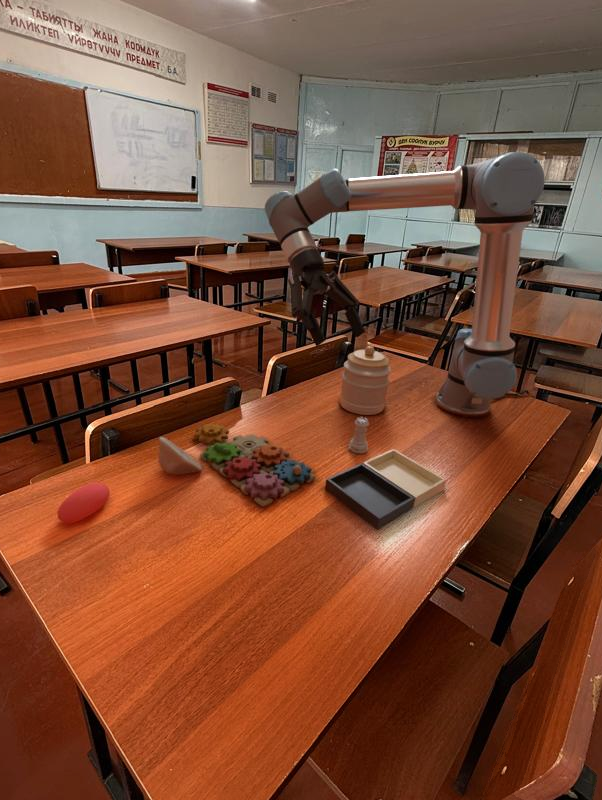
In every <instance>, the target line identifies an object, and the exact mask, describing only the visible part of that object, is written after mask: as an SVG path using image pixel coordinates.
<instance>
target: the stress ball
mask: <svg viewBox="0 0 602 800" xmlns="http://www.w3.org/2000/svg"><path fill="white" fill-rule="evenodd" d="M110 495H111V494H110V488H109V487H108V485H107V484H105V483H104V482H101V481H92V482H89V483H87V484H86V483H85V485H83V486H81V487H79V488H78V489H75V491H73V492H72V493H70V494H69V495H68V496H67V497H66V498H65V499H64V500H63V501H62V503H61V504H60V506H59V507H58V509H57V513H56V514H57V518H58V520H59V521H60V522H61V523H63V524H73V523H76V522H79V521H82V520H84V519H86V518H88V517H89V516H91V515H92V514H94V513H95V512H96V511H97V510H99V509H101V508H102V507H103V506H104V505H105V504H106V503H107V501H108V500H109V497H110Z"/></svg>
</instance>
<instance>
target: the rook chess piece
mask: <svg viewBox="0 0 602 800" xmlns="http://www.w3.org/2000/svg"><path fill="white" fill-rule="evenodd" d="M354 425H355V427H354V434H353V437H352V438H351V439H350V441H349V445H348V449H349V450H350V451H351V452H352V453H354V454H357V455H358V454H359V455H362V454H365V453H366V452H367V451H368V450H369V449H368V447H369V444H368V441H367V438H366V437H367V435H366V434H367V433H366V432H367V431H368V428H367V427H369V425H370V423H369V420H368V418H367V417H364V418H363V416H360V417H359V416H358V417H357V418H356V420H355V421H354Z"/></svg>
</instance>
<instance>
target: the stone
mask: <svg viewBox="0 0 602 800" xmlns="http://www.w3.org/2000/svg"><path fill="white" fill-rule="evenodd" d="M158 449H159V450H158V464H159V467H160V468H161V469H162V470H164V471H165V472H166V473H167V474H170V475H179V476H180V475H185V474H186V475H187V474H191V473H196V472H202V471H203V467H202V466H201V465H200V464H199V463H197V461H196V460H195V459H194V458H193V457H192V455H190V454H189V453H188V452H186V451H185V450H184V449H182V448H181V447H179V446H178V445H176V444H175V443H173V442H172V441H171V440H169V439H168V438H166V437H164V436H160V437H159V438H158Z"/></svg>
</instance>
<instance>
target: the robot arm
mask: <svg viewBox="0 0 602 800" xmlns="http://www.w3.org/2000/svg"><path fill="white" fill-rule="evenodd" d="M545 179H546V177H545V172H544V169H543V166H542V164H541V163H540V162H539V160H537V158H536V157H534V156H533V155H532V154H529V153H526V152H521V151H510V152H504V153H502V154H499V155H498V156H495V157H492V158H489V159H487V160H483V161H480V162H476V163H472V164H465V165H458V166H457V167H456V168H454V170H447V171H435V172H423V173H422V172H421V173H408V174H393V175H379V176H369V177H356V178H353V177H352V178H344V176H342V173H341V171H340V169H338V168H332V169H330V170H329V171H327V172H325V173H323V174H321V175H320V176H319V177H318V178H317V179H316V180H313V182H311V183H309V184H308V185H307V186H306V187H304V188H303V189H301V190H300V191H298V192H297V193H295V194H292V193H291V192H289V191H288V190H281V191H278V192H275V193H273V194H271V196H269V197H268V198H267V200H265V201H266V202H265V204H264V213H265V215H266V218H267V220H268V224H269V226H270V228H271V230H272V231H273V233H274V235H275V238H276V239H277V241H278V243H279V245H280V248H281V250H282V253H283V255H284V256H285V258H286V261H287V263H288V264H289V268H290V270H291V272H292V275H291V276H290V278H288V280H287V283H288V285H289V288H290V305H291V306H290V307H291V310H290V311H291V316H292V317H293V318H296V319H297V321H299V322H301V321H302V323H303V325H304V326H305V329H306V330H307V331H308V332H309V334H310V336H311V338H312V340H313V343H314V345H315V347H319V346H320V345H321V344H323V343H324V342H325V341H327V339H326V336H325V333H323V330H322V328H321V326H320V324H319V322H318V319H317V317H316V315H315V313H314V312H312V313H311V308H312V303H313V299H314V296H315V295H323V296H325V297H328V298H329V299H330V300H332V301H333V302H334V303H335V304H337V305H338V306H339V307H340V308H341V309H343V310H344V311H345V312H344V315H345V317H346V319H347V322H348V324H349V326H350V328H351V330H352V332H353V334H354V336H355V338H359V337H360V336H362V335H364V333H366V329H365V327H364V326H363V323H362V321H361V317H360V316H359V313H358V311H357V308H356V307H358V305H359V304H360V301H359V299H358V298H357V297H356V296H355V295H354V294H353V292H351V291H350V290H349V289H348V286H346V285H345V284H344V283H343V282H342V280H341V279H340V278H339V276H338V274H337V273H336V271H334V270H333V271H331V272H330V273H327V272H326V271H325V269H324V268H325V261H324V258H323V257H322V255H321V252H320V250H318V245H317V243H316V242H315V240H314V238H313V236H312V234H311V232H310V230H309V227H310V226H312V225H314V224H315V223H317V222H318V221H320V220H321V219H323V218H325V217H327V216H328V215H329V214H334V213H336V214H337V213H346V212H347V213H348V212H363V211H380V210H381V211H382V210H396V209H397V210H398V209H399V210H400V209H413V208H414V209H415V208H431V207H445V206H446V207H447V206H448V207H449V206H451V207H452V208H453V209H454V210H473V211H474V223H473V225H474V226H475V227H476V228H477V229H478V231H479V232H480V237H479V246H478V257H477V258H478V259H477V270H476V279H475V291H474V302H473V303H474V304H473V315H472V325H471V328H461V329H459V330H458V331H457V334H456V336H455V338H454V345H453V349H452V354H451V358H450V363H449V366H448V371H447V375H446V379H445V380H444V382H443V383H442V385H441V386H440V388H439V390H438V391H437V393H436V395H435V400H434V401H435V404H436V405H437V407H439V408H440V409H441V410H442V411H445V412H447V413H449V414H452V415H455V416H458V417H462V418H463V417H464V418H483V417H486V416H487V415H489V411H490V409H491V400H497V399H500V398H501V397H505V396H508V397H509V396H510V397H518V396H519V395H518V394H521V395H523V394H525V393H526V394H527V395H530V391H528V390H527V389H523V390H522V391H520V392H517V393H518V394H514V393H515V392H514V393H513V392H511V391H512V390H513V388H514V387H515V385H516V383H517V381H518V372H517V368H516V366H515V364H514V358H515V357H514V355H515V351H516V342H515V341H514V340H513V339H512V338H511V336H510V333H511V327H512V318H513V310H514V303H515V297H516V296H515V294H516V287H517V280H518V273H519V271H518V270H519V263H520V255H521V247H522V239H523V232H524V230H525V229H526V228H527V227H528V226H529V225H530V224H531V223H532V221H533V216H534V215H533V214H534V208H535V205H536V203H537V202H538V201H539V199H540V197H541V195H542V193H543V191H544V188H545ZM302 288H303V290H302Z"/></svg>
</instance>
